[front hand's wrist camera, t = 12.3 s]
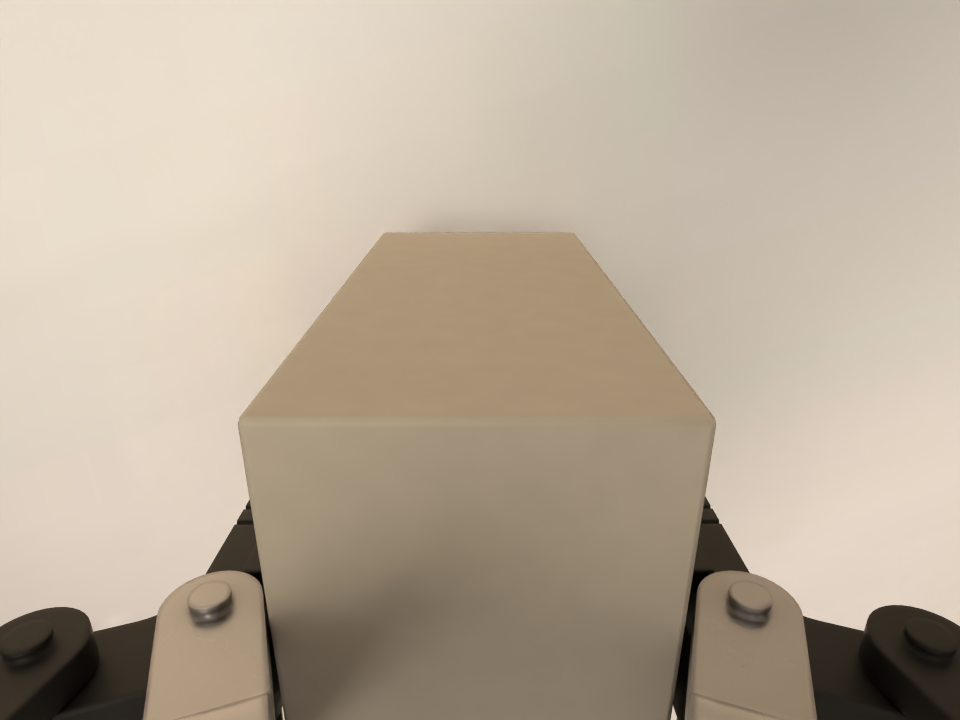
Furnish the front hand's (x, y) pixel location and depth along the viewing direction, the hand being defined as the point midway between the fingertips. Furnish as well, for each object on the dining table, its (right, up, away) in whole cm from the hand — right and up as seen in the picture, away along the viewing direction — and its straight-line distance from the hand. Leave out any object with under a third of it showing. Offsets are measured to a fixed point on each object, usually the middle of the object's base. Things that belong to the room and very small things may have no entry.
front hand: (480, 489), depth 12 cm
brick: (0, +2, +6) cm, 6 cm away
